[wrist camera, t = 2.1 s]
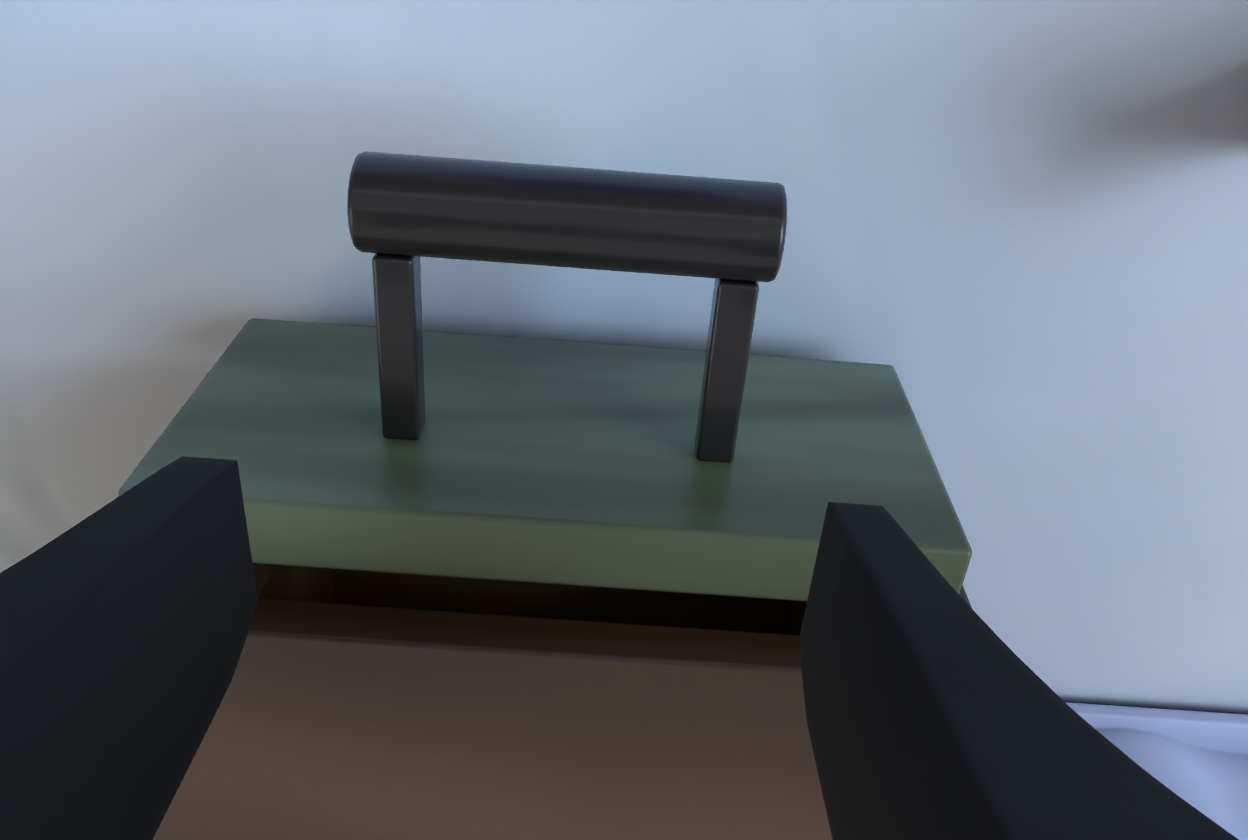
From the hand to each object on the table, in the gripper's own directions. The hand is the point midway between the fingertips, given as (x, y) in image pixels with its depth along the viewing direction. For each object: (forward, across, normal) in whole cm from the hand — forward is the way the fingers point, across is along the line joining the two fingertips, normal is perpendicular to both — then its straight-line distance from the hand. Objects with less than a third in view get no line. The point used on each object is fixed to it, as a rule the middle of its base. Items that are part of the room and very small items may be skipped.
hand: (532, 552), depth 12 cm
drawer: (+9, 0, +6) cm, 10 cm away
